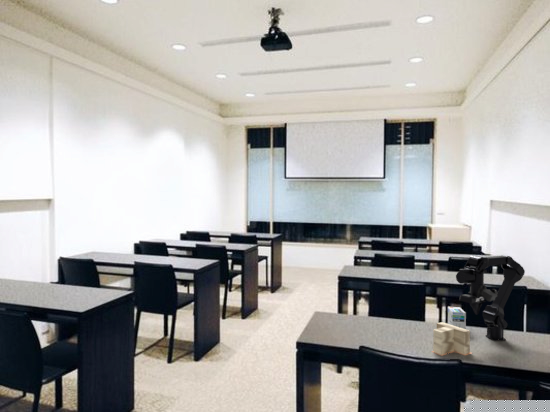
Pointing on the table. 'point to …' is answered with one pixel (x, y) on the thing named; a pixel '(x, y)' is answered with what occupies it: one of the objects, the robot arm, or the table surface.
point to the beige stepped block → (450, 339)
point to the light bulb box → (457, 317)
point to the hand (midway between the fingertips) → (476, 314)
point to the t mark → (452, 352)
